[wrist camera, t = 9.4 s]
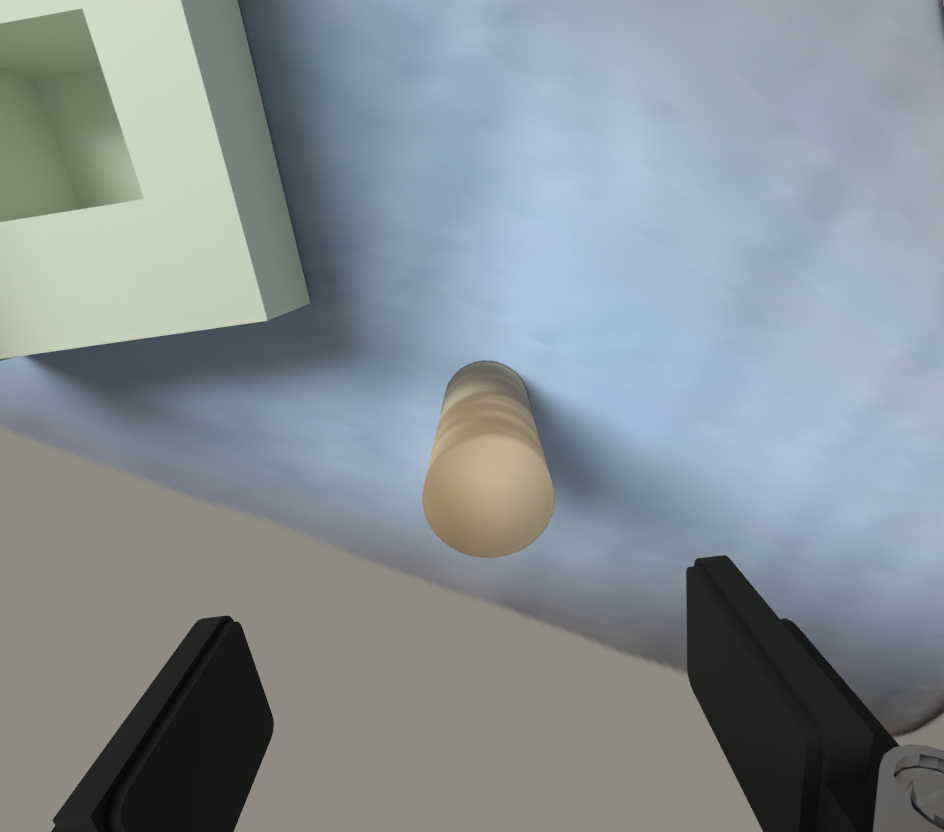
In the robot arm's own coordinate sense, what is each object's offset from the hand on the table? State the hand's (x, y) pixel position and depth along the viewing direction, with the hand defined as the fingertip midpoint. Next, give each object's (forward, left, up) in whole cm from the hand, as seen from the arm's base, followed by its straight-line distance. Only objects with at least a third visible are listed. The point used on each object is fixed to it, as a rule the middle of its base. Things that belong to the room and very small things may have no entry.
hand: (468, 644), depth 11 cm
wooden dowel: (-1, 0, -15) cm, 15 cm away
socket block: (+12, -13, -15) cm, 24 cm away
